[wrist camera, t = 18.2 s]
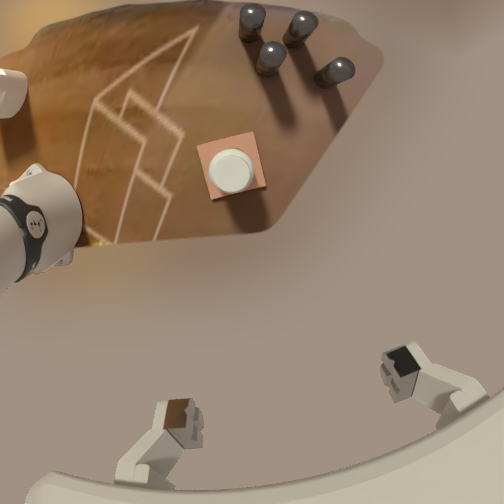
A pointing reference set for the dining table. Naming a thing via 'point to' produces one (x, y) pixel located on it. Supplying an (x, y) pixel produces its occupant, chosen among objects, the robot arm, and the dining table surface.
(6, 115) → the cylinder with rectangular tab
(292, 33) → the posts
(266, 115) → the dining table surface
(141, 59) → the dining table surface
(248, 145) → the terracotta tile
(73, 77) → the dining table surface
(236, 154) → the supplement bottle
